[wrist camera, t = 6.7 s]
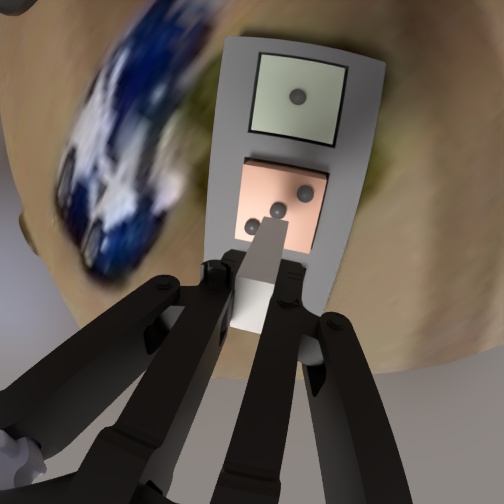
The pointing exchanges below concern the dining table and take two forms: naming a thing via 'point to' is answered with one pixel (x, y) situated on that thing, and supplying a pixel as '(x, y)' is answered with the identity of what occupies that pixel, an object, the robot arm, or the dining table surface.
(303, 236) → the tile three
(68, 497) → the robot arm
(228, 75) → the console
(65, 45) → the dining table surface
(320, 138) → the tile one
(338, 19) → the dining table surface
